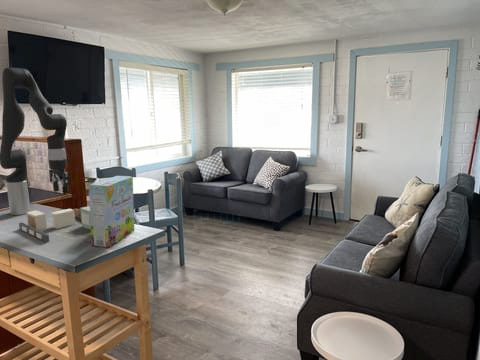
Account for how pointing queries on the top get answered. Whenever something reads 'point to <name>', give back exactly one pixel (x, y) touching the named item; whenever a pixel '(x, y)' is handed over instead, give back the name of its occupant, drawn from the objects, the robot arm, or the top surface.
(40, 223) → the faced twin box
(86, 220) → the sage tea tin
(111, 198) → the snack box
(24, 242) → the top surface
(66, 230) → the top surface
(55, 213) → the box
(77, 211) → the shelf back lip
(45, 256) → the top surface
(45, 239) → the rail
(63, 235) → the top surface
